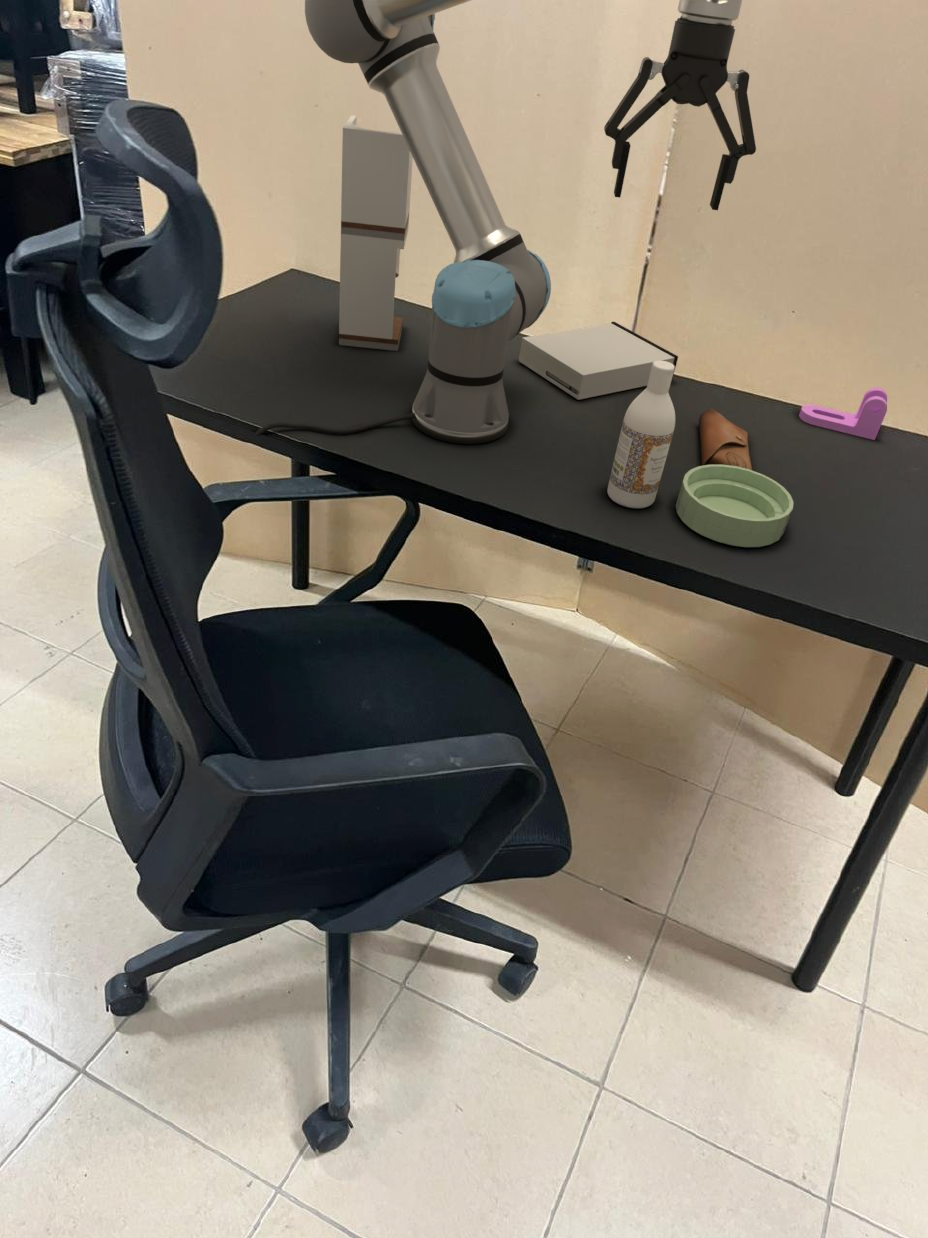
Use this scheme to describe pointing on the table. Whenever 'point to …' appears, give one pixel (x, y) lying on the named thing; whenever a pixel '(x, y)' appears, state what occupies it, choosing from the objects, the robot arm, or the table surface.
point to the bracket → (851, 415)
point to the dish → (734, 505)
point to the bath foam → (644, 442)
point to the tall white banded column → (372, 234)
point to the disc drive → (593, 359)
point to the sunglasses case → (722, 441)
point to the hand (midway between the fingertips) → (665, 201)
